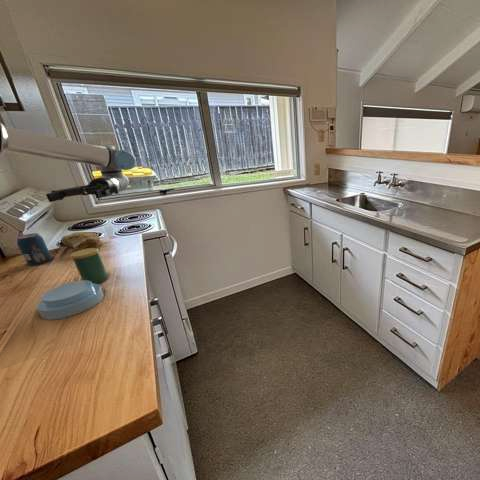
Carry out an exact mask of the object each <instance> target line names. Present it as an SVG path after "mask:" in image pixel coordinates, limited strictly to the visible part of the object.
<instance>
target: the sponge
mask: <svg viewBox="0 0 480 480" xmlns="http://www.w3.org/2000/svg"><path fill="white" fill-rule="evenodd" d="M60 240H61V241H60V242H61V243H62V245H64V246H67V247H70V248H73V250H74V251H76V252H77V251H80V250H83V249H88V248H97V249H99V248H100V246H101V243H102V241H101V237H100V236H99V235H98V234H97V233H94V232H89V231H77V232H72V233H70V234H66V235H63V236H62V237H61V239H60Z"/></svg>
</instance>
